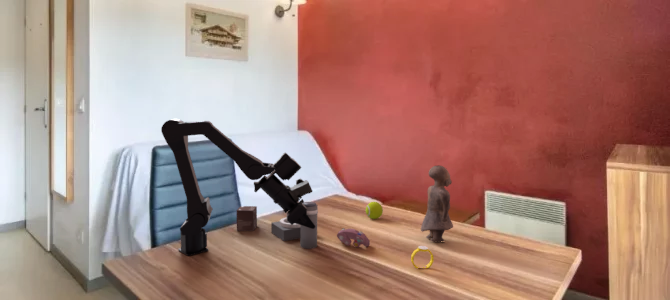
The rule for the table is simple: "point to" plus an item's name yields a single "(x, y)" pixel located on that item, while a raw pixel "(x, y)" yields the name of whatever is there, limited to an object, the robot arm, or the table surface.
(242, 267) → the table surface
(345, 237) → the video game controller
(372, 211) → the tennis ball
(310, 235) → the grey travel tumbler
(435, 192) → the clay figurine
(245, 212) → the box
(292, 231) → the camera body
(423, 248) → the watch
